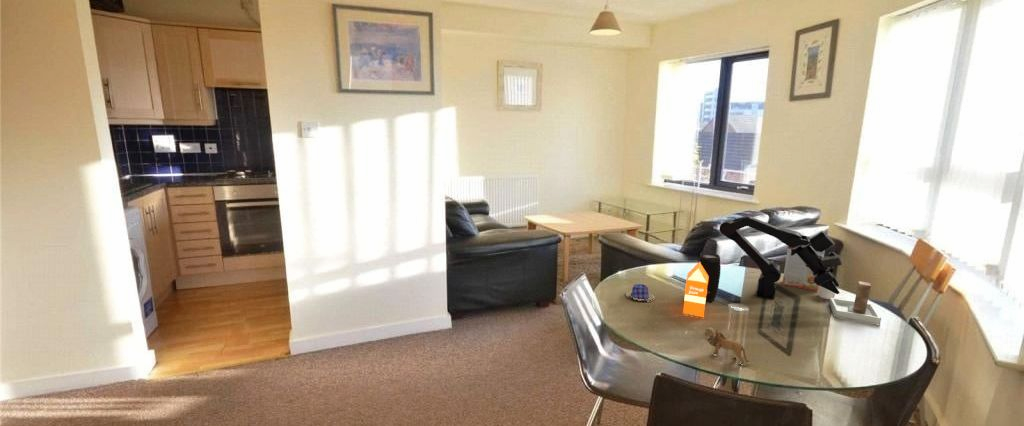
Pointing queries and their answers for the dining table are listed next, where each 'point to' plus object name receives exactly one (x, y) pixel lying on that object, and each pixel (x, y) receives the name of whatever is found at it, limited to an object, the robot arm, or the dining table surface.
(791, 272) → the cracker box
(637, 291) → the plaid hat
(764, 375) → the dining table surface
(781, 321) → the dining table surface
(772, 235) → the robot arm
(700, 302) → the orange juice
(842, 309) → the tray
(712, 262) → the black tall cylinder
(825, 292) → the white cylinder
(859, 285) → the wooden post with base
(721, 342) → the lion figurine
